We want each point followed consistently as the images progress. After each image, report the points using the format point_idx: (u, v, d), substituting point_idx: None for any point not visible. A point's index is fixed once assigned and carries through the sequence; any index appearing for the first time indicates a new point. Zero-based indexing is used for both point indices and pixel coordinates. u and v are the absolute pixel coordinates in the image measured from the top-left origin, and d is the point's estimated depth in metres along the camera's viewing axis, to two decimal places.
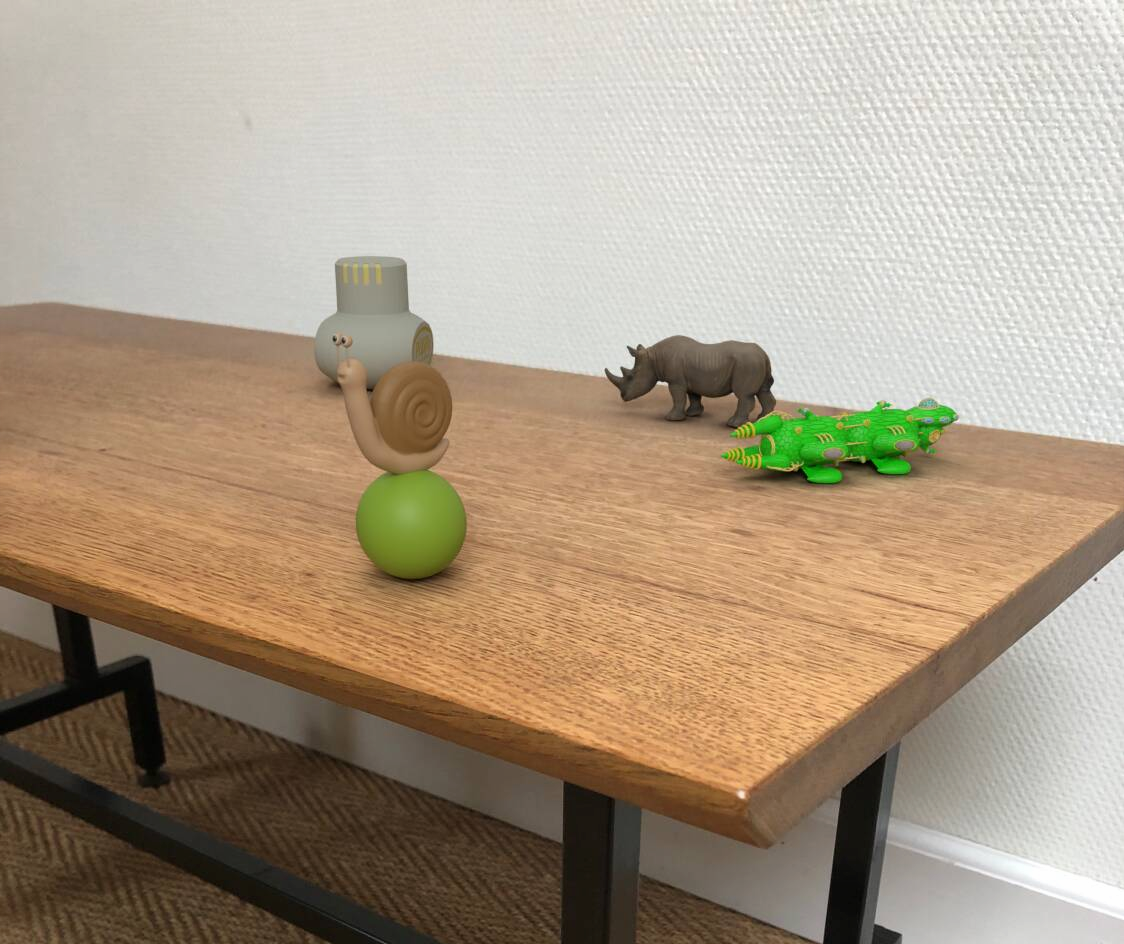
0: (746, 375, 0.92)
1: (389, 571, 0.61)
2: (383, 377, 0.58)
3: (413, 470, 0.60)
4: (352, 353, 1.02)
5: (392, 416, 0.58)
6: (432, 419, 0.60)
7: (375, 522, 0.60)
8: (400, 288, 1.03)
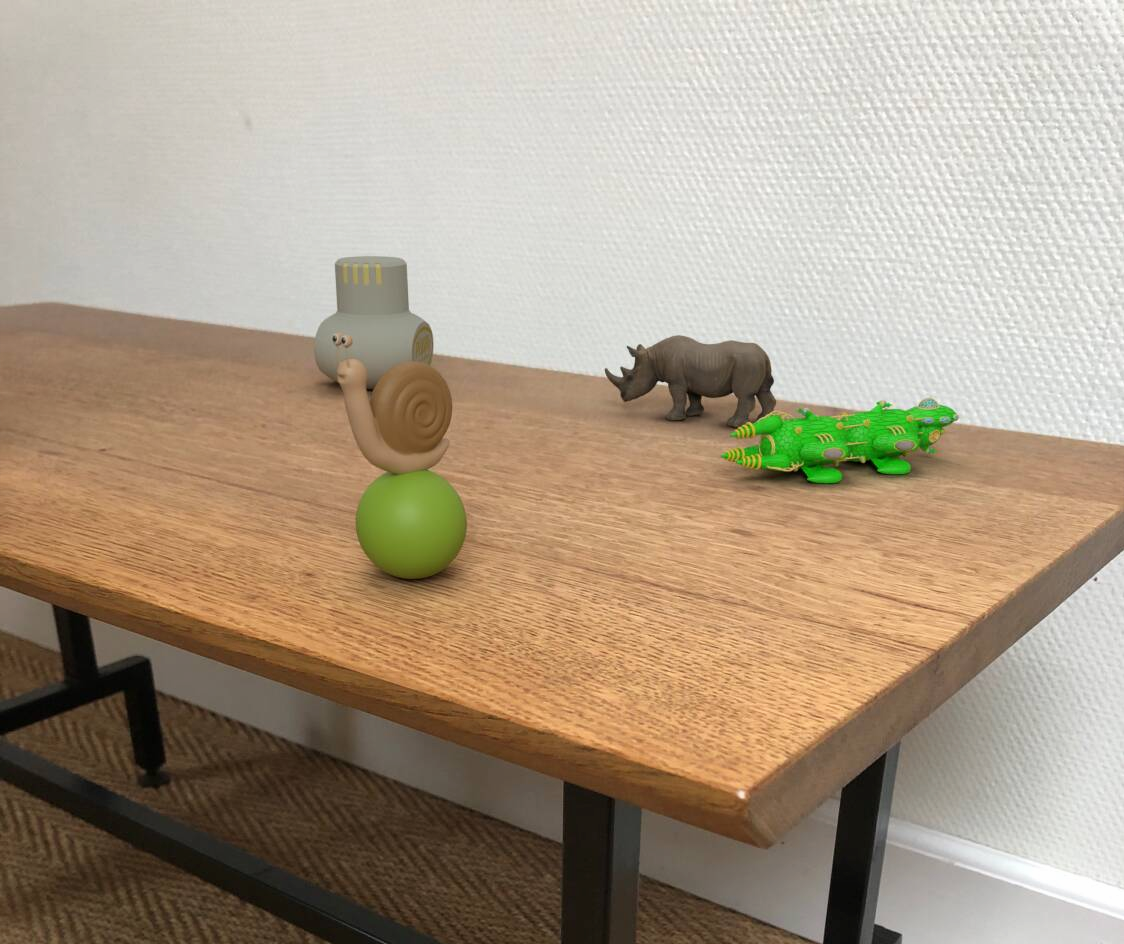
0: (746, 375, 0.92)
1: (389, 571, 0.61)
2: (383, 377, 0.58)
3: (413, 470, 0.60)
4: (352, 353, 1.02)
5: (392, 416, 0.58)
6: (432, 419, 0.60)
7: (375, 522, 0.60)
8: (400, 288, 1.03)
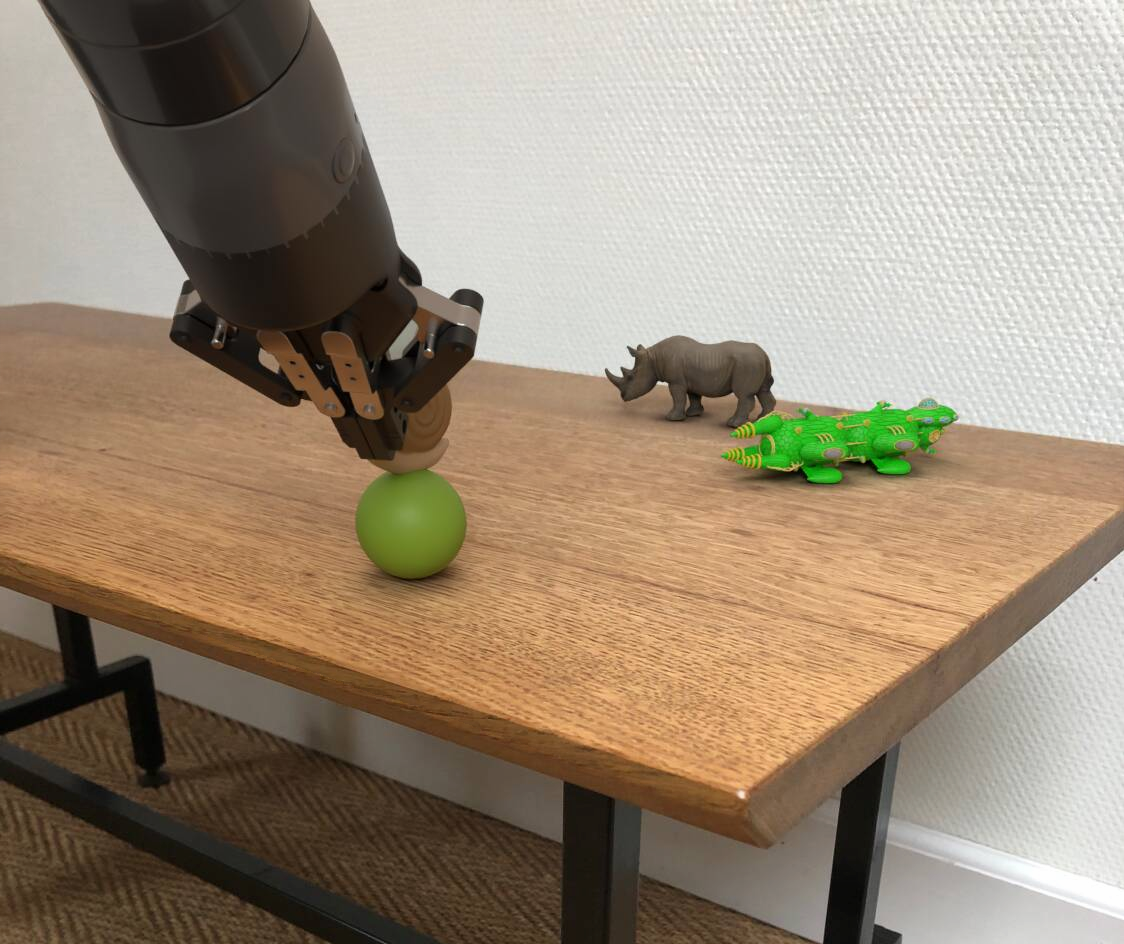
0: (746, 375, 0.92)
1: (389, 571, 0.61)
2: None
3: (413, 469, 0.60)
4: None
5: None
6: (431, 418, 0.60)
7: (375, 521, 0.60)
8: None
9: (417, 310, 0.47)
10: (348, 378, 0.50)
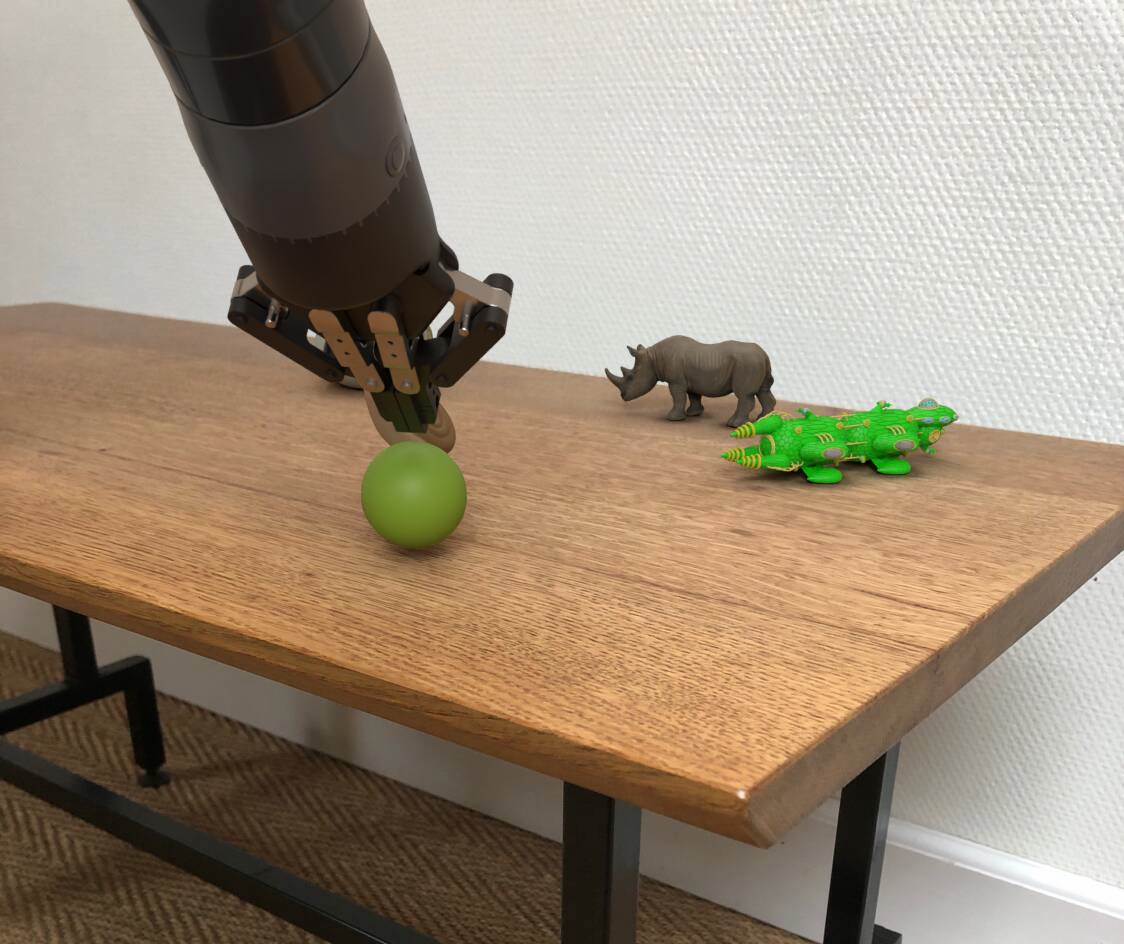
0: (746, 374, 0.92)
1: (390, 502, 0.62)
2: None
3: None
4: None
5: None
6: (437, 423, 0.68)
7: (380, 455, 0.63)
8: None
9: (454, 292, 0.52)
10: (390, 355, 0.55)
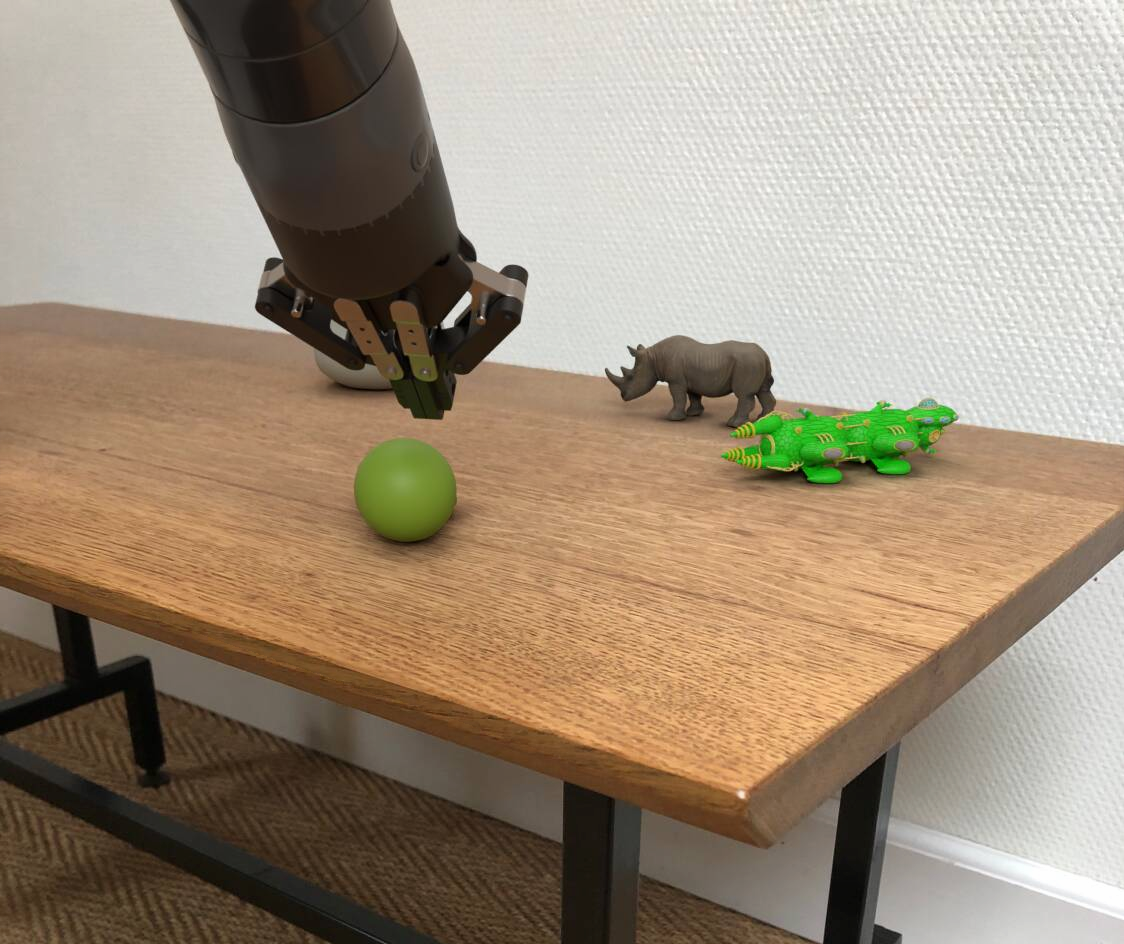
0: (746, 374, 0.92)
1: (371, 469, 0.65)
2: None
3: None
4: None
5: None
6: None
7: None
8: None
9: (472, 282, 0.55)
10: (410, 343, 0.57)
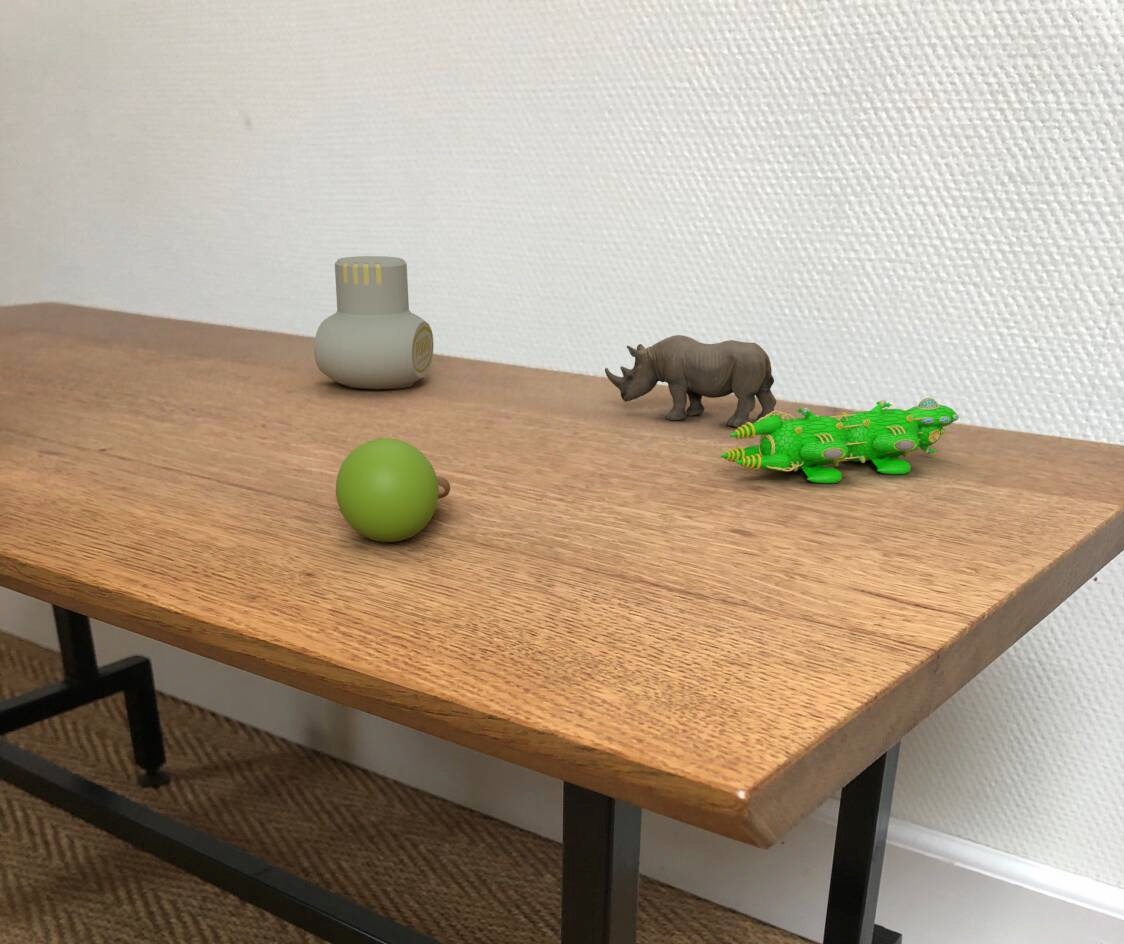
0: (746, 374, 0.92)
1: (345, 480, 0.65)
2: None
3: None
4: (352, 353, 1.02)
5: None
6: None
7: None
8: (400, 288, 1.03)
9: None
10: None
